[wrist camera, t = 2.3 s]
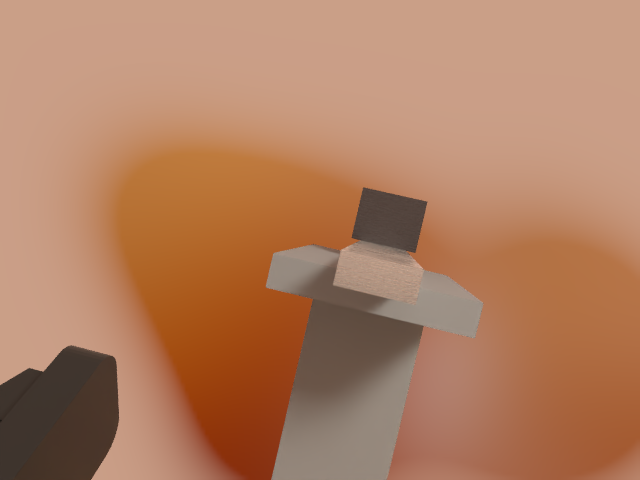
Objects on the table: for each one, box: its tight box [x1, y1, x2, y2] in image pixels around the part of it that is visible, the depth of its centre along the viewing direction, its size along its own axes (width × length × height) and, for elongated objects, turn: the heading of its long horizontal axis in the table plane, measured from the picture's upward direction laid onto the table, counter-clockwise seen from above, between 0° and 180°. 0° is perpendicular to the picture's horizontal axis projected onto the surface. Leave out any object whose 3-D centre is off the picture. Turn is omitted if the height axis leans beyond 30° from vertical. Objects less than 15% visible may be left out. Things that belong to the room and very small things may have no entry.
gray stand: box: [266, 244, 483, 480], centre depth 45 cm, size 20×12×32 cm, turn 174°
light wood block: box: [333, 188, 427, 305], centre depth 39 cm, size 28×5×6 cm, turn 174°
